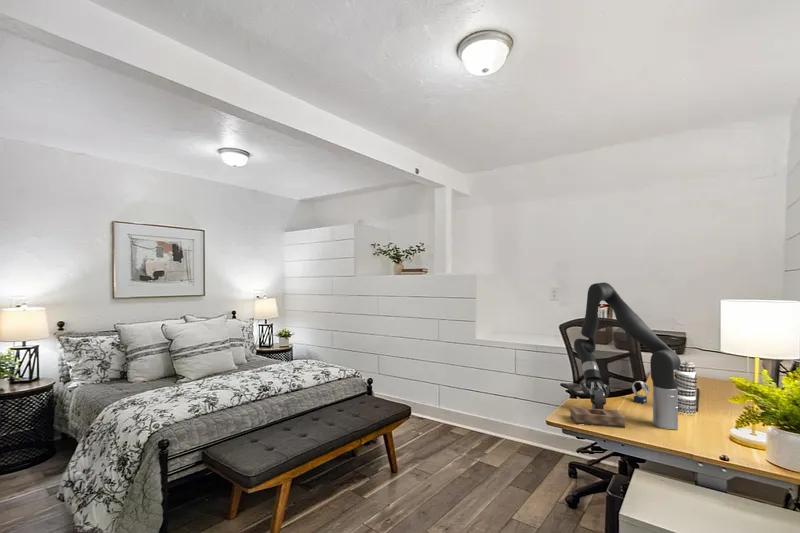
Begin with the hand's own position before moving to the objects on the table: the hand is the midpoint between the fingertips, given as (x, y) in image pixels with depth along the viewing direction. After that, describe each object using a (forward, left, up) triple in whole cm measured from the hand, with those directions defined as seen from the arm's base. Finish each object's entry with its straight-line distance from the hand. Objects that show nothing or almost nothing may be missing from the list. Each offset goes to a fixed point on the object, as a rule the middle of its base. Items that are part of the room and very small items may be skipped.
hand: (599, 403), depth 190 cm
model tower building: (-35, -30, -6) cm, 46 cm away
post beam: (0, +11, -5) cm, 12 cm away
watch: (-16, -37, -6) cm, 41 cm away
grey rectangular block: (+1, -2, -5) cm, 5 cm away
